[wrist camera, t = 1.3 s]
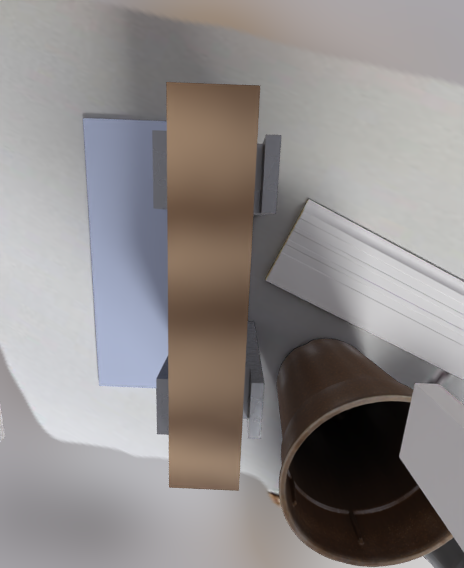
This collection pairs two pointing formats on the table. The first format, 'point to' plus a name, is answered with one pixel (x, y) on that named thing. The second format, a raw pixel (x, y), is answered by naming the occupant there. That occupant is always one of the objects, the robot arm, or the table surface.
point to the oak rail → (208, 276)
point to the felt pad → (126, 252)
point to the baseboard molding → (374, 286)
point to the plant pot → (350, 460)
